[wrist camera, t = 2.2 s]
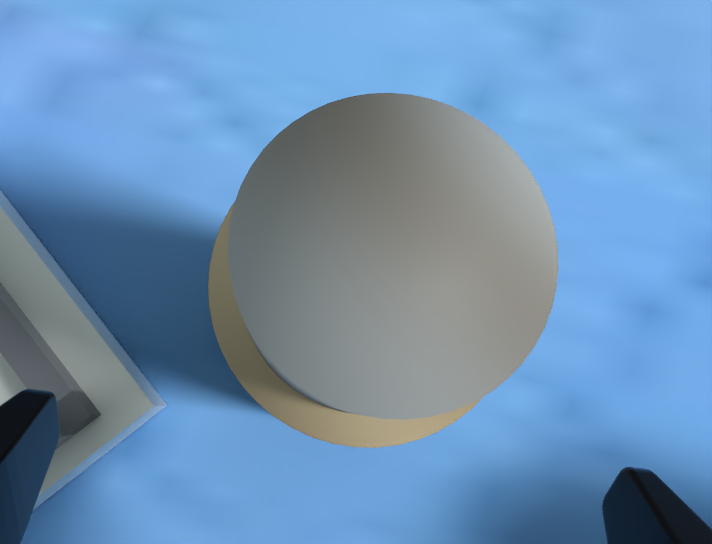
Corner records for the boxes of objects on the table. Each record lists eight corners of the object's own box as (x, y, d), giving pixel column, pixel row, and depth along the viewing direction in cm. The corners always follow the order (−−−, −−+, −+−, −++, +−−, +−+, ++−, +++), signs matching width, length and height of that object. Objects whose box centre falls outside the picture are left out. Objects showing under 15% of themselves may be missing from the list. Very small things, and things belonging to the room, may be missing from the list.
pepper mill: (312, 459, 19) (372, 561, 7) (209, 327, 20) (95, 210, 7) (436, 352, 20) (673, 281, 8) (336, 230, 21) (419, -10, 9)
